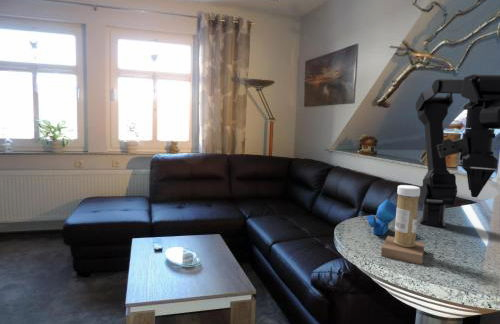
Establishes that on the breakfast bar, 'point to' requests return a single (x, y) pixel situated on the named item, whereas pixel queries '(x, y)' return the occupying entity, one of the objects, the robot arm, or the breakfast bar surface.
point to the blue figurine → (382, 217)
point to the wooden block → (403, 251)
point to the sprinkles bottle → (406, 215)
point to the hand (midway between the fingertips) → (472, 193)
